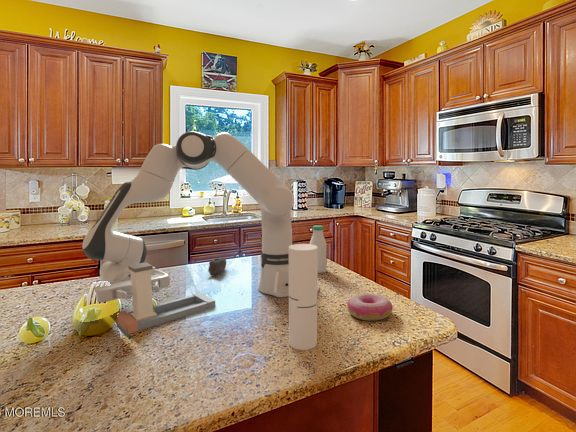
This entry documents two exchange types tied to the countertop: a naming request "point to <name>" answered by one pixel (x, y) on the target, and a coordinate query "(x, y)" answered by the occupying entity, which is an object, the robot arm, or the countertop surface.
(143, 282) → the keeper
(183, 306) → the rail
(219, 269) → the perforated stone tool
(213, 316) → the countertop surface
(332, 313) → the countertop surface
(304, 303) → the cylindrical container
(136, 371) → the countertop surface
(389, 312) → the donut
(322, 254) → the milk bottle
